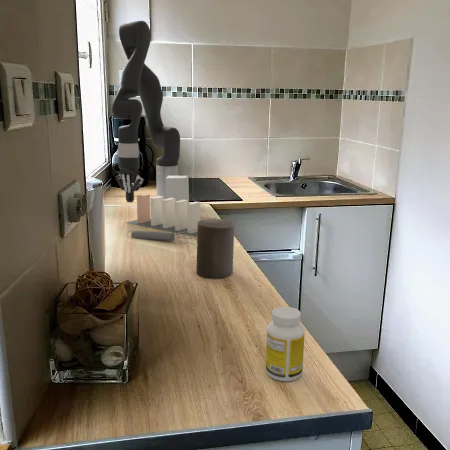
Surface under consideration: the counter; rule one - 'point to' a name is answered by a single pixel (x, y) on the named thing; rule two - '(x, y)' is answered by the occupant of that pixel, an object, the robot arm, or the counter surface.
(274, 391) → the counter surface
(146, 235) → the kitchen whisk
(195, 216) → the domino
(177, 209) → the domino
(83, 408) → the counter surface
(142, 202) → the domino
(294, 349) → the pill bottle
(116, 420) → the counter surface
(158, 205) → the domino
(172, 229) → the mat
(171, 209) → the domino
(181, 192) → the skincare box
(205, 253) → the pillar candle
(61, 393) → the counter surface
